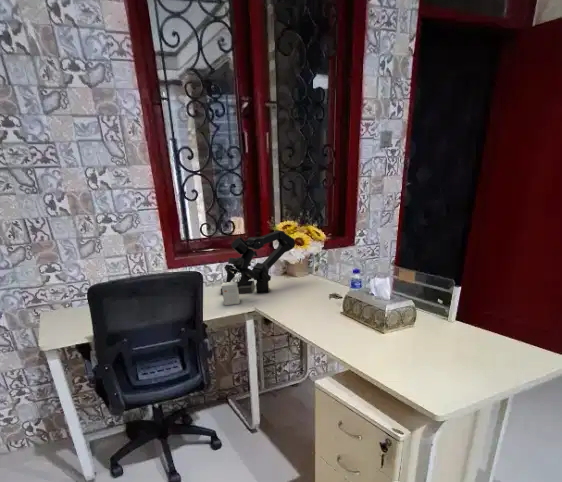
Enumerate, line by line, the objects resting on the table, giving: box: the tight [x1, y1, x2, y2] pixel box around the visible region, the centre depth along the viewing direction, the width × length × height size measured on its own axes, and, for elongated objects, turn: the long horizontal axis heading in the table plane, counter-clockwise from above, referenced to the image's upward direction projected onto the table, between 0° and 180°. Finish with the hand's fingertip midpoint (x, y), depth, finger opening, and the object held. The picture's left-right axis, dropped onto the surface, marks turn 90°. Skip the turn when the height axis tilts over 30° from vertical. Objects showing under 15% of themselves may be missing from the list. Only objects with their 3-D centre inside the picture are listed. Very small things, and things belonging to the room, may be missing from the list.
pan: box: [220, 279, 256, 295], centre depth 236 cm, size 17×13×3 cm
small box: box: [221, 280, 241, 306], centre depth 215 cm, size 8×6×10 cm
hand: (232, 285), depth 215 cm, fingers open, 9 cm apart
